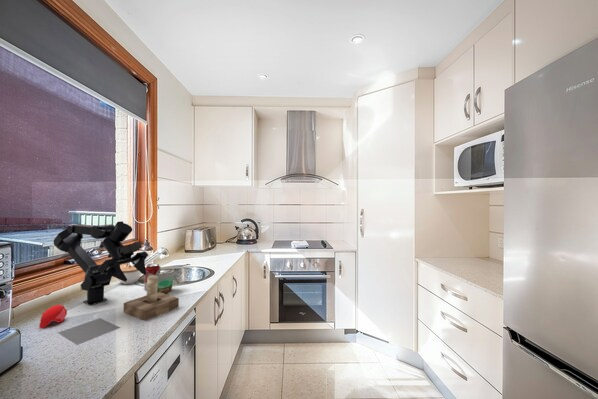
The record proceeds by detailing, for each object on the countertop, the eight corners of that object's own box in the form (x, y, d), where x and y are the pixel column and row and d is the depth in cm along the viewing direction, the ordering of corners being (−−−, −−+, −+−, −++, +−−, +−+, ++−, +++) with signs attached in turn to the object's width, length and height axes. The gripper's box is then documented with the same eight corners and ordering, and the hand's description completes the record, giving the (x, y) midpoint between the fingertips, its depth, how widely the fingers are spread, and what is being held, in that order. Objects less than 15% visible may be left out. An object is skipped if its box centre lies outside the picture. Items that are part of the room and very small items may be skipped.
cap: (56, 308, 93) (39, 306, 88) (71, 304, 93) (55, 301, 88) (49, 332, 89) (31, 330, 84) (65, 327, 89) (47, 325, 84)
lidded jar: (146, 280, 138) (146, 263, 138) (128, 286, 127) (129, 268, 127) (130, 278, 140) (130, 261, 140) (111, 284, 130) (112, 266, 130)
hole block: (123, 312, 98) (123, 302, 98) (157, 300, 110) (158, 291, 110) (144, 321, 91) (144, 310, 91) (178, 307, 104) (178, 298, 104)
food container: (154, 298, 112) (155, 276, 113) (147, 295, 116) (147, 274, 116) (179, 290, 123) (180, 270, 123) (172, 288, 126) (173, 268, 126)
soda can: (152, 291, 121) (153, 266, 121) (141, 290, 123) (141, 265, 123) (163, 286, 128) (163, 263, 128) (151, 285, 129) (152, 262, 129)
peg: (145, 312, 99) (146, 278, 99) (148, 308, 102) (149, 275, 102) (155, 311, 100) (156, 278, 100) (158, 308, 103) (158, 275, 103)
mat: (57, 333, 82) (57, 332, 82) (99, 318, 93) (100, 317, 93) (77, 346, 76) (77, 344, 76) (120, 328, 86) (120, 327, 86)
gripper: (105, 239, 95) (127, 271, 92) (145, 233, 113) (165, 259, 110) (88, 258, 96) (110, 289, 94) (130, 249, 115) (150, 275, 112)
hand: (136, 277), depth 102 cm, fingers open, 9 cm apart
